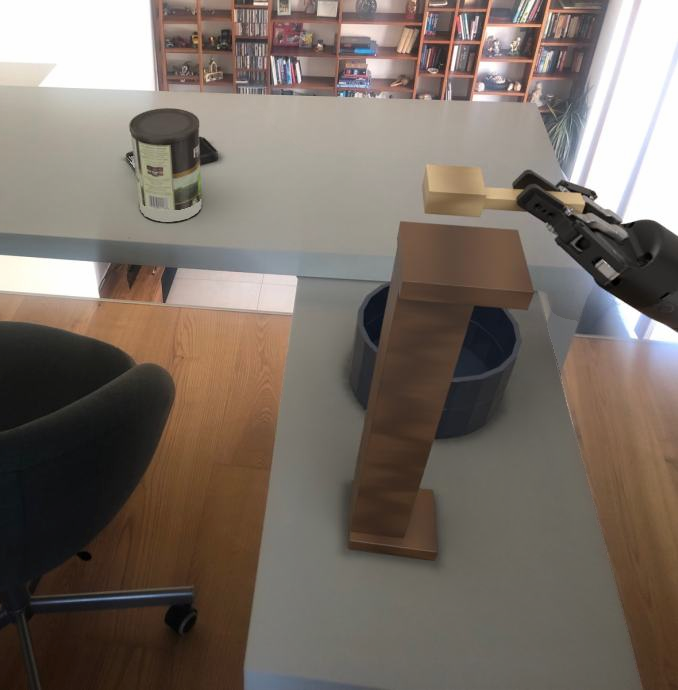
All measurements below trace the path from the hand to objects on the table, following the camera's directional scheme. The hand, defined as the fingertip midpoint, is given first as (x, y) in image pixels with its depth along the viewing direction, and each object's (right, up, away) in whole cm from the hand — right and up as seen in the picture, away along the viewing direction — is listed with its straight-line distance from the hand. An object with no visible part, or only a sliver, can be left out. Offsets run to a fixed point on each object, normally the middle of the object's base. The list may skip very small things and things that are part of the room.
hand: (521, 186), depth 63 cm
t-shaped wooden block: (-2, -1, +2) cm, 3 cm away
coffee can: (-35, +8, +48) cm, 60 cm away
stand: (-11, -32, +5) cm, 34 cm away
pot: (-4, -19, +18) cm, 27 cm away
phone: (-36, +18, +59) cm, 72 cm away
